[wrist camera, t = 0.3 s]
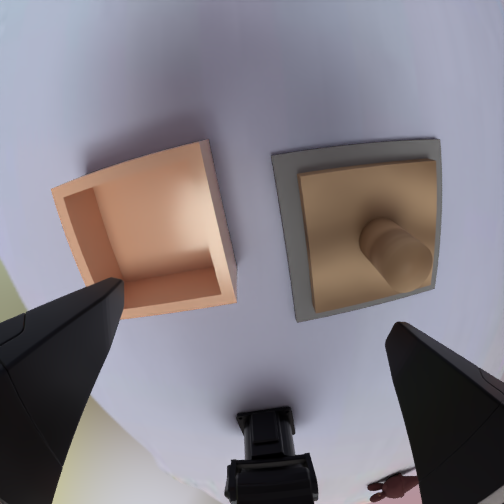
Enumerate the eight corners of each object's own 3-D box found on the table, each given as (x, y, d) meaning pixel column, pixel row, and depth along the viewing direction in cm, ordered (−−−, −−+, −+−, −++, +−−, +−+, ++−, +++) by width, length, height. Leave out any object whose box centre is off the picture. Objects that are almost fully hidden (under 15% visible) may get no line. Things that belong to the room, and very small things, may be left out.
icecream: (435, 478, 40) (372, 497, 41) (427, 493, 41) (369, 511, 43) (426, 458, 46) (367, 475, 48) (420, 475, 48) (364, 490, 49)
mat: (431, 285, 25) (434, 288, 24) (295, 318, 26) (297, 322, 25) (436, 138, 19) (440, 139, 19) (270, 155, 20) (271, 156, 19)
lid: (424, 278, 24) (460, 316, 18) (312, 305, 24) (331, 355, 19) (427, 158, 20) (478, 173, 14) (296, 173, 20) (319, 193, 14)
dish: (237, 267, 23) (236, 302, 19) (123, 287, 24) (102, 321, 19) (208, 138, 19) (198, 142, 15) (85, 174, 20) (50, 189, 15)
